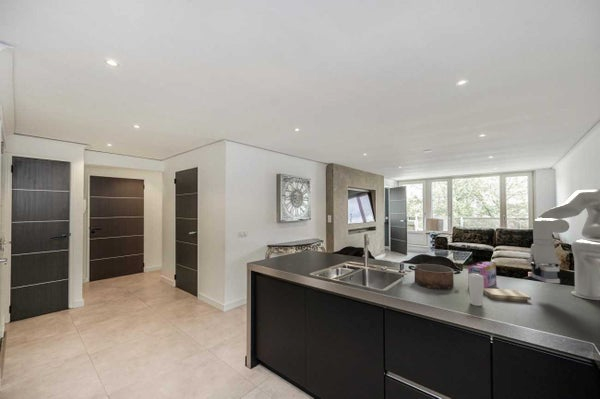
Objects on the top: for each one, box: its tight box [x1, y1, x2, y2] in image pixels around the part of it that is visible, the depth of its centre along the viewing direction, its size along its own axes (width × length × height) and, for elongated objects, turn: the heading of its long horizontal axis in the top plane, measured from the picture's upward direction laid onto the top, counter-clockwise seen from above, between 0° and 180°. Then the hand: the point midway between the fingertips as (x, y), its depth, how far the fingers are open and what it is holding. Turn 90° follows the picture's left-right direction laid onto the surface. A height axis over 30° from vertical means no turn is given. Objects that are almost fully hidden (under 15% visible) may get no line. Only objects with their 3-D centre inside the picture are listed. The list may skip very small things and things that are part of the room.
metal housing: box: [529, 261, 561, 284], centre depth 138 cm, size 6×12×8 cm, turn 169°
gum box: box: [467, 260, 497, 288], centre depth 163 cm, size 24×8×14 cm, turn 125°
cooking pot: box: [408, 263, 461, 291], centre depth 165 cm, size 30×22×11 cm
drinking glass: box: [467, 273, 484, 307], centre depth 132 cm, size 7×7×15 cm
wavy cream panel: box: [483, 287, 532, 303], centre depth 141 cm, size 18×11×3 cm, turn 77°
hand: (544, 275), depth 138 cm, fingers closed on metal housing, 6 cm apart
